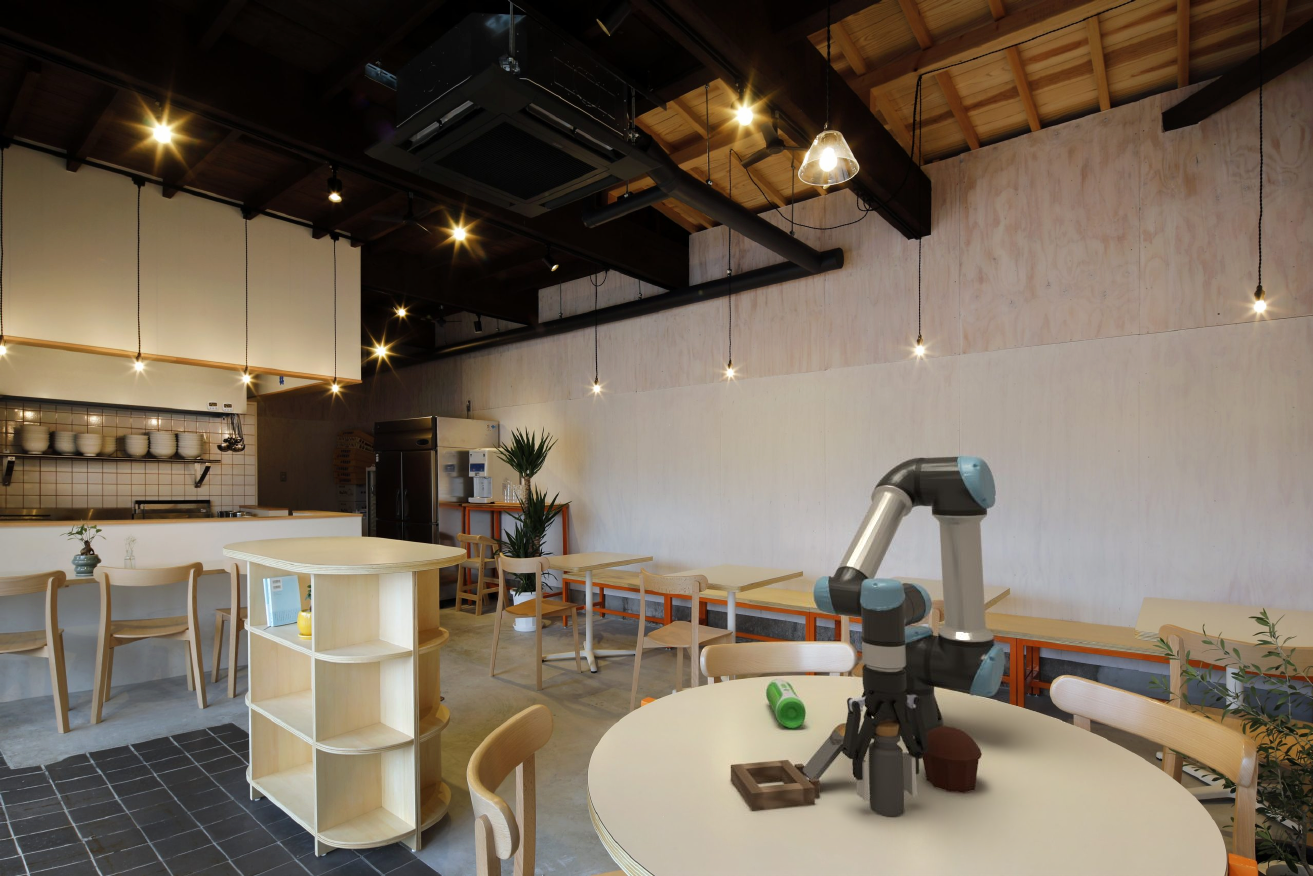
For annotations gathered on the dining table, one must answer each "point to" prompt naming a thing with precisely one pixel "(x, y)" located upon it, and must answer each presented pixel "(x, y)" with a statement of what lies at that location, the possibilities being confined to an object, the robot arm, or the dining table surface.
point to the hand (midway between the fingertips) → (886, 794)
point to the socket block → (774, 796)
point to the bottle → (886, 770)
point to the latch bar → (825, 754)
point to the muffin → (951, 759)
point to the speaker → (785, 703)
